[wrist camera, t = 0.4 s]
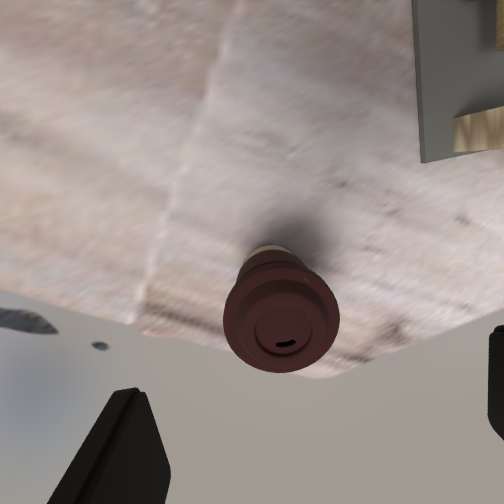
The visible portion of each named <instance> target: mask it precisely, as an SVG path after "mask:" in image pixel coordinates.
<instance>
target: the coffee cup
mask: <svg viewBox="0 0 504 504" xmlns="http://www.w3.org/2000/svg"><path fill="white" fill-rule="evenodd" d="M339 323H340V314H339V308H338V304H337V301H336V298H335V296H334V294H333V293H332V291H331V290H330V288H329V287H328V285H327V284H326V283H325V281H324V280H323V279H322V278H321V277H320V276H319V275H317V274H316V273H314V272H313V271H311V270H310V269H308V268H307V267H306V266H305V265H304V264H303V262H302V261H301V260H300V259H299V258H297V257H296V256H295V255H293V254H292V253H291V252H290V251H289V250H287V249H285V248H283V247H281V246H277V245H266V246H262V247H259V248H257V249H255V250H254V251H252V252H251V253H250V254H249V255H248V256H247V258H246V259H245V261H244V263H243V266H242V267H241V269H240V271H239V274H238V277H237V280H236V284H235V285H234V287H233V288H232V290H231V291H230V293H229V295H228V298H227V300H226V304H225V309H224V315H223V327H224V333H225V336H226V339H227V341H228V343H229V345H230V347H231V349H232V350H233V351H234V353H235V354H236V355H237V356H238V357H239V358H240V359H242V360H243V361H244V362H245V363H247V364H249V365H251V366H252V367H255V368H257V369H260V370H263V371H267V372H273V373H287V372H293V371H297V370H300V369H303V368H305V367H308V366H310V365H311V364H313V363H315V362H316V361H317V360H319V359H320V358H321V357H322V356H323V355H324V354H325V353H326V352H327V351H328V350H329V348H330V347H331V346H332V344H333V342H334V340H335V338H336V336H337V333H338V329H339Z"/></svg>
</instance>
